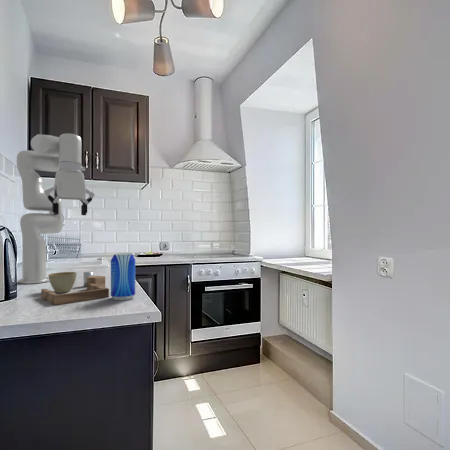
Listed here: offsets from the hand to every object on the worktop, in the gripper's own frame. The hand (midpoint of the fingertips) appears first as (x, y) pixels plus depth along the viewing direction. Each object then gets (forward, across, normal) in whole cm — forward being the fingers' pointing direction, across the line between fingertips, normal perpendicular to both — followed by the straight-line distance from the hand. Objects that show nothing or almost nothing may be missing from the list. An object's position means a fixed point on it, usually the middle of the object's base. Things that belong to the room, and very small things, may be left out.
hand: (70, 214), depth 121 cm
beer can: (+30, -13, +16) cm, 37 cm away
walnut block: (+30, -13, -8) cm, 33 cm away
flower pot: (+30, -1, -11) cm, 32 cm away
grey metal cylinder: (+30, -12, -16) cm, 36 cm away
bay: (+30, -1, +2) cm, 30 cm away
